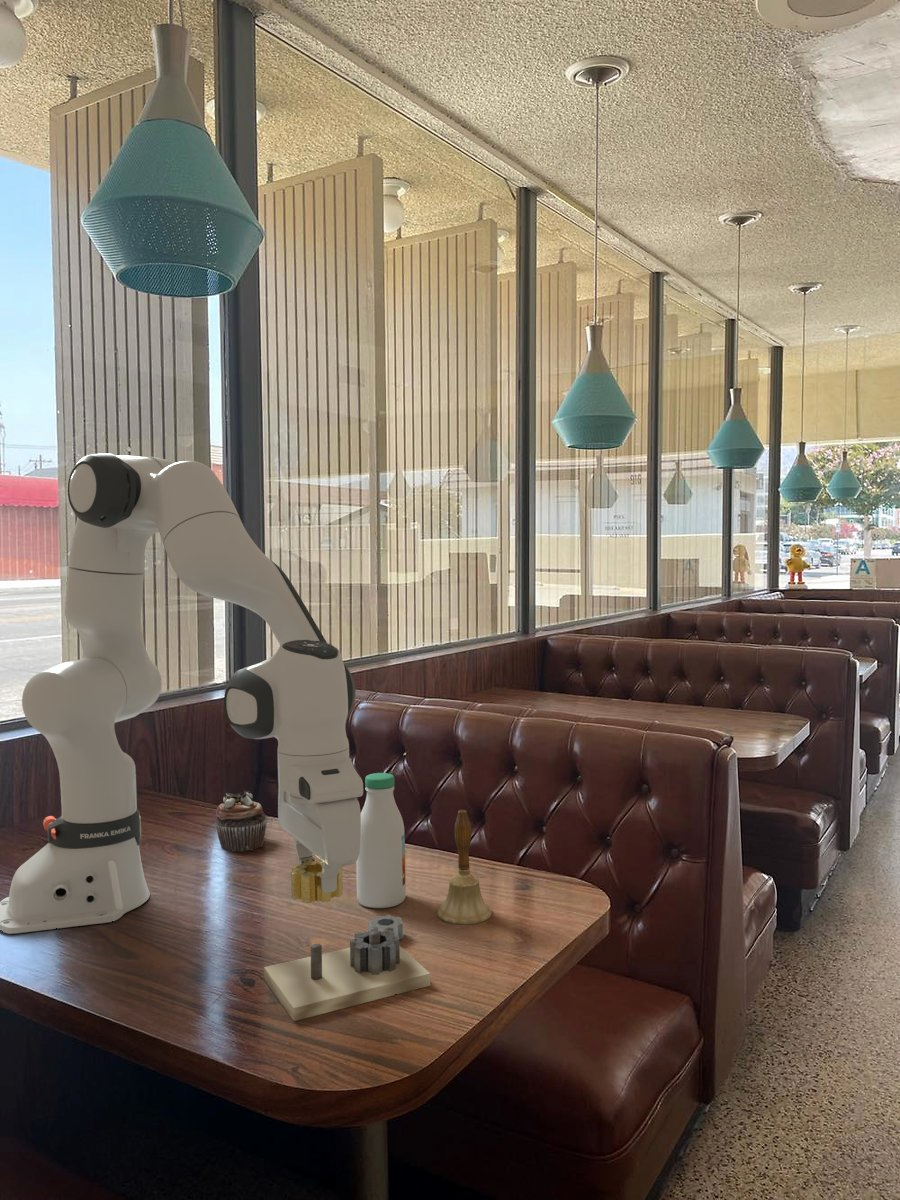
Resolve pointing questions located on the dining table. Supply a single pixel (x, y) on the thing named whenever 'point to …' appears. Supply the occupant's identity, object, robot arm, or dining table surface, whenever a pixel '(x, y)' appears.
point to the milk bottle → (381, 846)
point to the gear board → (338, 981)
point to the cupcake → (240, 822)
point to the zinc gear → (388, 925)
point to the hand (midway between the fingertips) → (316, 880)
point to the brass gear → (311, 883)
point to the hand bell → (464, 883)
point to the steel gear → (374, 952)
